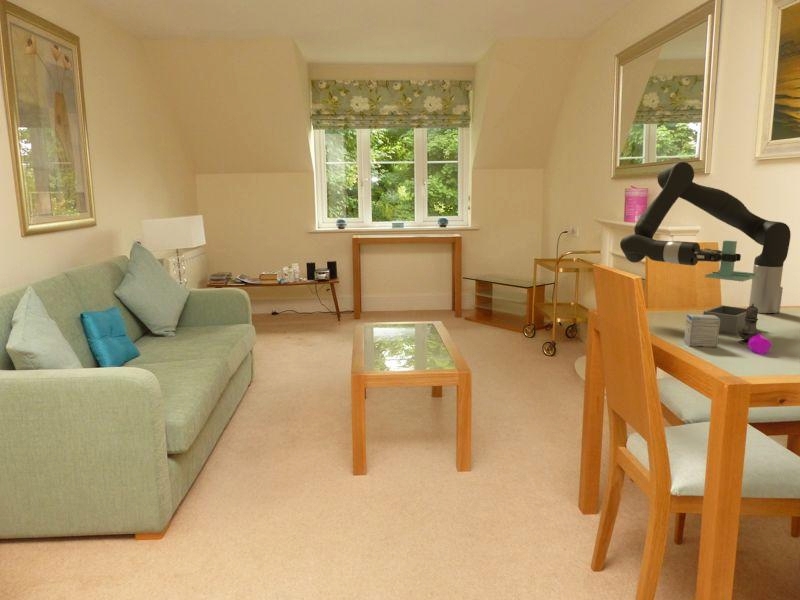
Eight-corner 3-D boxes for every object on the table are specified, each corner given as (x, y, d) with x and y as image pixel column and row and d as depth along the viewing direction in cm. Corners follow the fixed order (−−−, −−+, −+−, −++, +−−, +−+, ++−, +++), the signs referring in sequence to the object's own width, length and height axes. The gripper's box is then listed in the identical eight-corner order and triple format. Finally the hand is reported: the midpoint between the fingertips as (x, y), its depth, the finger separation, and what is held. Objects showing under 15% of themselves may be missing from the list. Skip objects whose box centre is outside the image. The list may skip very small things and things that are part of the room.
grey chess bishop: (752, 346, 179) (757, 306, 177) (732, 342, 184) (737, 302, 182) (763, 344, 182) (768, 304, 180) (743, 339, 187) (748, 300, 185)
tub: (720, 322, 210) (721, 305, 209) (752, 327, 203) (754, 309, 202) (701, 329, 199) (703, 311, 198) (735, 335, 192) (737, 316, 191)
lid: (724, 272, 209) (728, 237, 206) (760, 276, 201) (764, 239, 199) (705, 277, 197) (709, 240, 195) (742, 281, 189) (747, 243, 187)
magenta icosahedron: (744, 350, 175) (746, 334, 174) (758, 348, 177) (760, 333, 176) (760, 355, 170) (762, 338, 170) (774, 353, 172) (776, 337, 171)
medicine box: (711, 343, 182) (714, 315, 180) (717, 347, 177) (720, 318, 176) (683, 342, 182) (686, 314, 181) (688, 346, 178) (691, 317, 176)
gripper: (673, 242, 198) (731, 247, 186) (691, 240, 208) (747, 244, 195) (671, 266, 199) (728, 272, 187) (688, 262, 209) (744, 268, 197)
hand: (737, 258), depth 191 cm, fingers closed on lid, 3 cm apart
